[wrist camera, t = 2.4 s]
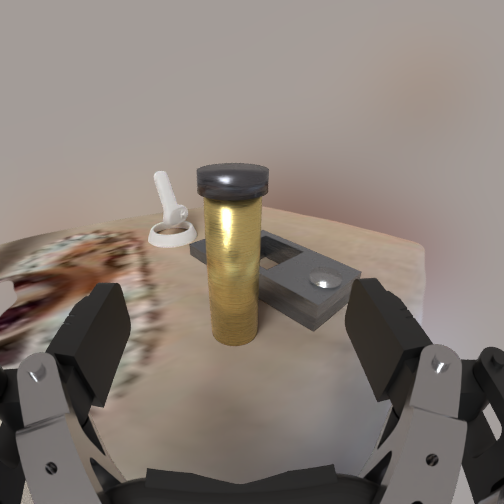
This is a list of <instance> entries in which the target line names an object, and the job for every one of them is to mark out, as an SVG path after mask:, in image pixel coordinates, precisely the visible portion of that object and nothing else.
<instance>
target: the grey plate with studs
mask: <svg viewBox="0 0 504 504" xmlns="http://www.w3.org/2000/svg"><path fill="white" fill-rule="evenodd" d="M190 254H191V255H192V256H194V257H195V258H197V259H198V260H200V261H201V262H203V263H204V264H206V265H207V256H206V239H203V240H200V241H197V242H194V243H192V244H190ZM263 257H267V258H269V259H271V260H273V261H275V262H277V263H279V264H278V265H276V266H274V267H272V268H270V269H268V270H266V269H265V268H263V267H261V266H260V270H259V297H258V298H259V299H261V300H263V301H264V302H266V303H267V304H269V305H271V306H272V307H274V308H276V309H277V310H279V311H280V312H282V313H284V314H285V315H287V316H289V317H290V318H292V319H294V320H295V321H297V322H299V323H300V324H302V325H304V326H305V327H307V328H309V329H310V330H312V331H314V330H316V329H317V328H318V327H319V326H321V325H322V324H323V323H324V322H325V321H327V320H328V319H329V318H330V317H331V316H333V315H334V314H335V313H336V312H337V311H339V310H340V309H341V308H342V307H343V306H344V305H346V304H347V303H348V302H349V297H350V293H351V288H352V284H353V282H354V280H355V279H360V276H361V271H358V270H356V269H354V268H351V267H349V266H347V265H345V264H342V263H340V262H338V261H335V260H333V259H331V258H328V257H326V256H324V255H321V254H319V253H317V252H314V251H312V250H310V249H307V248H305V247H303V246H300V245H298V244H295V243H293V242H291V241H288V240H286V239H284V238H281V237H279V236H276V235H274V234H272V233H269V232H267V231H264V230H262V231H261V241H260V259H261V258H263Z"/></svg>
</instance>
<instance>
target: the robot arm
mask: <svg viewBox="0 0 504 504" xmlns="http://www.w3.org/2000/svg"><path fill="white" fill-rule="evenodd" d="M345 327H346V331H347V333H348V336H349V338H350V340H351V342H352V344H353V347H354V349H355V351H356V353H357V356H358V358H359V360H360V362H361V365H362V367H363V369H364V371H365V374H366V376H367V378H368V381H369V383H370V386H371V388H372V390H373V393H374V395H375V397H376V400H377V402H380V401H384V400H389V399H390V401H391V403H392V405H391V407H390V409H389V411H388V414H387V417H386V419H385V422H384V425H383V427H382V430H381V433H380V435H379V438H378V440H377V442H376V445H375V447H374V449H373V452H372V454H371V456H370V458H369V459H368V461H367V462H366V464H365V465H364V467H363V469H362V470H361V472H360V474H359V476H358V477H357V476H353V475H346V474H336V472H335V468H334V464H332V465H327V466H321V467H315V468H308V469H301V470H293V471H287V472H284V473H281V474H278V475H275V476H272V477H268V478H265V479H261V480H258V481H254V482H250V483H246V484H234V483H229V482H224V481H220V480H216V479H212V478H208V477H204V476H200V475H197V474H193V473H184V472H173V471H164V470H156V469H149V468H147V474H146V478H140V479H134V480H130V481H126V479H125V478H124V476H123V475H122V473H121V472H120V471H119V469H118V468H117V467H116V465H115V464H114V462H113V461H112V459H111V457H110V455H109V453H108V451H107V449H106V447H105V445H104V443H103V441H102V439H101V437H100V435H99V433H98V430H97V428H96V426H95V424H94V421H93V419H92V417H91V415H90V413H89V411H90V408H91V405H93V406H98V407H103V408H104V406H105V402H106V399H107V396H108V393H109V390H110V387H111V385H112V382H113V379H114V376H115V373H116V370H117V368H118V365H119V362H120V359H121V357H122V354H123V351H124V349H125V346H126V343H127V341H128V338H129V336H130V331H131V322H130V317H129V314H128V310H127V307H126V303H125V300H124V296H123V292H122V288H121V286H120V284H118V283H98V284H97V285H96V286H95V287H94V289H93V290H92V292H91V293H90V295H89V296H86V297H84V298H83V299H82V300H81V301H79V302H78V303H77V304H76V305H75V306H74V307H73V309H72V310H71V312H70V313H69V316H67V318H66V319H65V321H64V324H62V326H61V327H60V329H59V330H58V332H57V333H56V335H55V337H54V338H53V340H52V342H51V343H50V345H49V347H48V348H47V350H46V352H45V353H44V352H40V353H35V354H32V355H30V356H29V357H27V358H26V359H25V360H24V361H23V362H22V363H21V364H20V366H19V368H18V369H6V370H3V368H2V367H1V365H0V420H1V421H2V424H1V426H0V504H21V499H22V494H23V489H24V484H25V480H26V481H27V484H28V488H29V491H30V494H31V496H32V499H33V502H34V504H451V502H452V499H453V496H454V492H455V488H456V484H457V481H458V476H459V472H460V467H461V464H462V467H463V469H464V472H465V475H466V478H467V481H468V484H469V487H470V490H471V493H472V497H473V500H474V503H475V504H504V351H502V350H500V349H498V348H495V347H487V348H485V349H484V350H483V351H482V352H481V354H480V356H479V358H478V359H477V360H460V358H459V356H458V355H457V354H456V353H455V352H454V351H453V350H452V349H450V348H448V347H446V346H444V345H439V344H433V343H432V342H431V340H430V339H429V337H428V336H427V335H426V333H425V332H424V330H423V329H422V328H421V326H420V325H419V323H418V322H417V321H416V319H415V318H413V315H412V314H411V313H410V311H409V310H407V307H406V306H405V305H404V303H403V302H402V301H401V299H400V298H398V297H397V296H395V295H394V294H393V293H391V292H390V291H386V290H385V289H384V287H383V286H382V285H381V283H380V282H379V281H378V280H377V279H376V278H365V279H355V280H354V282H353V284H352V288H351V293H350V297H349V302H348V306H347V310H346V315H345ZM489 403H490V404H491V406H492V408H493V410H494V412H495V414H496V416H497V418H498V419H499V421H500V423H501V426H502V433H501V436H500V438H499V439H498V440H497V441H496V439H495V437H494V434H493V433H492V430H491V428H490V426H489V424H488V422H487V420H486V418H485V416H484V414H483V412H482V411H483V410H484V409H485V408H486V406H487V405H488V404H489Z"/></svg>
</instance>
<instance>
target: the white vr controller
mask: <svg viewBox="0 0 504 504" xmlns="http://www.w3.org/2000/svg"><path fill="white" fill-rule="evenodd" d="M154 181H155V184H156V187H157V191H158V194H159V197H160V200H161V203H162V206H163V208H164V214H163V221H164V222H160V223H158V224H156V225H154V226H153V227H152V229H151V231H150V234H149V238H148V241H149V243H150V244H152V245H154V246H157V247H165V248H169V247H178V246H182V245H185V244H188V243H190V242H192V241H193V240H195V239H196V237H197V232H196V230H195V228H194V226H193V225H192V224H191V223H190V222H188V221H185V220H186V218H187V216H188V210H187V208H186V207H185V206H183V205H178V204H177V201H176V198H175V195H174V193H173V190H172V187H171V184H170V181H169V178H168V175H167V173H166V172H165V171H157V172H155V174H154ZM171 228H184V229H188V230H186V231H184V232H182V233H178V234H173V235H162V234H157V232H159V231H162V230H165V229H171Z"/></svg>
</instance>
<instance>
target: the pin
mask: <svg viewBox="0 0 504 504" xmlns="http://www.w3.org/2000/svg"><path fill="white" fill-rule="evenodd" d="M268 176H269V169H268V168H266V167H263V166H260V165H254V164H244V163H224V164H213V165H207V166H203V167H200V168H198V169H197V191H198V194H199V195H201V196H203V197H204V219H205V239H206V256H207V272H208V286H209V299H210V311H211V323H212V333H213V336H214V337H215V339H216V340H217V341H219V342H221V343H223V344H225V345H230V346H239V345H244V344H246V343H249V342H250V341H252V340H253V339H254V338H255V336H256V334H257V322H258V297H259V270H260V241H261V211H262V196H264V195H266V194H267V193H268Z"/></svg>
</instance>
